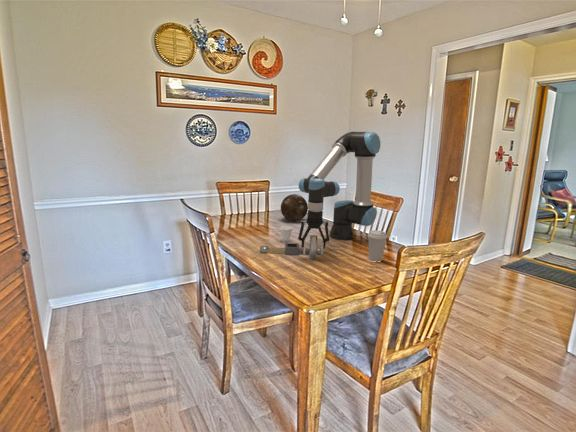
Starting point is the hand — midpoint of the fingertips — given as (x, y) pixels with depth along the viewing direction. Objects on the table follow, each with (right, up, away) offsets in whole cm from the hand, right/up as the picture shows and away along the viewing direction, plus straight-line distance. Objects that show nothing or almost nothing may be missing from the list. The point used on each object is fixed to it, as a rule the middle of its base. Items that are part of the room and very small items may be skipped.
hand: (312, 253), depth 171 cm
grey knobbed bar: (-11, 0, +8) cm, 13 cm away
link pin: (0, -2, +1) cm, 3 cm away
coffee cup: (+32, -4, 0) cm, 32 cm away
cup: (-16, +4, +28) cm, 32 cm away
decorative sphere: (-9, +15, +77) cm, 79 cm away
